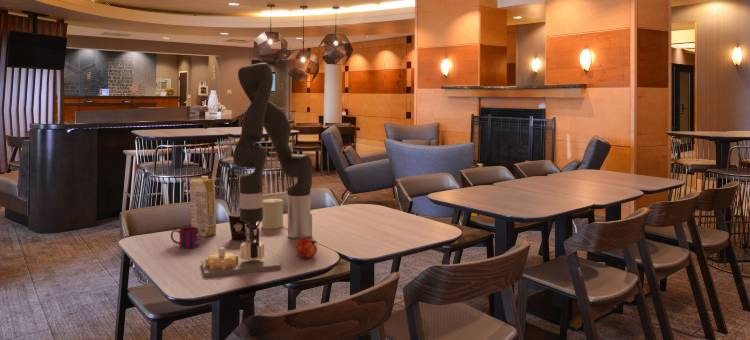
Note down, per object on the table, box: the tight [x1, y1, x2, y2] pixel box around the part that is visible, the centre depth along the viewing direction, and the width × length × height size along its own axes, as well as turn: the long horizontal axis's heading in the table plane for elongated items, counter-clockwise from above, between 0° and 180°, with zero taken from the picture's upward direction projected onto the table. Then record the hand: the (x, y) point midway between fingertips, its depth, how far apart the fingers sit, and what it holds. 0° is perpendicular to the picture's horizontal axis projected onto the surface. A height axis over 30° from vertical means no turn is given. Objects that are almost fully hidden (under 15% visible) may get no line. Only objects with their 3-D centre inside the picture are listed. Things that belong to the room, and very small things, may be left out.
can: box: [261, 198, 284, 230], centre depth 240 cm, size 9×9×12 cm
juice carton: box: [189, 175, 217, 238], centre depth 225 cm, size 9×8×24 cm
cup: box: [170, 226, 200, 250], centre depth 209 cm, size 7×10×7 cm
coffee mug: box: [228, 211, 261, 242], centre depth 219 cm, size 12×9×10 cm
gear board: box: [200, 246, 282, 278], centre depth 184 cm, size 24×14×7 cm, turn 111°
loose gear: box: [239, 240, 265, 260], centre depth 185 cm, size 8×6×4 cm
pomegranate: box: [295, 237, 318, 259], centre depth 195 cm, size 7×7×10 cm
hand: (252, 254), depth 186 cm, fingers closed on loose gear, 6 cm apart
